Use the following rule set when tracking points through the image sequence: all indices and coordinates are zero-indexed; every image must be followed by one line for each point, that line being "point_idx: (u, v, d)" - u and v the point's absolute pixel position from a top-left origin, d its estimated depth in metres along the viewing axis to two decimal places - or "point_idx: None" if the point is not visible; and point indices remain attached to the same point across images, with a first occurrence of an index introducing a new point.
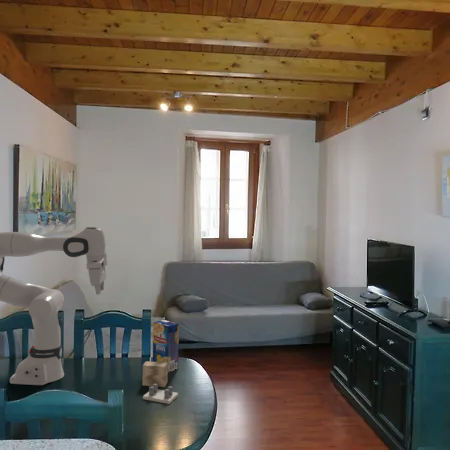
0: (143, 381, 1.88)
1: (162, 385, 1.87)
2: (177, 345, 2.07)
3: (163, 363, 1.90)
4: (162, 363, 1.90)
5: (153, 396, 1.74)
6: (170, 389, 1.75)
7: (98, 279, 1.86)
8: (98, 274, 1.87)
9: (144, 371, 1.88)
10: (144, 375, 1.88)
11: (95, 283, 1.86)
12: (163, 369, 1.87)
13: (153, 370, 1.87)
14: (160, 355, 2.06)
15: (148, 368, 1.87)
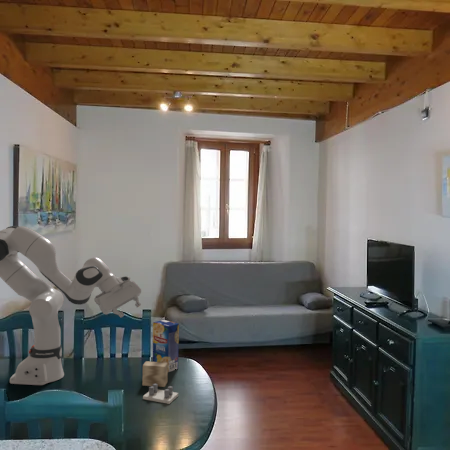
0: (143, 381, 1.88)
1: (162, 385, 1.87)
2: (177, 345, 2.07)
3: (163, 363, 1.90)
4: (162, 363, 1.90)
5: (153, 396, 1.74)
6: (170, 389, 1.75)
7: None
8: None
9: (144, 371, 1.88)
10: (144, 375, 1.88)
11: None
12: (163, 369, 1.87)
13: (153, 370, 1.87)
14: (160, 355, 2.06)
15: (148, 368, 1.87)
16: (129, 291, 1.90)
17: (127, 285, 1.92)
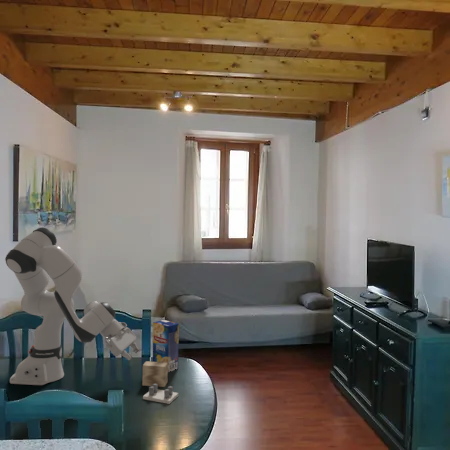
0: (143, 381, 1.88)
1: (162, 385, 1.87)
2: (177, 345, 2.07)
3: (163, 363, 1.90)
4: (162, 363, 1.90)
5: (153, 396, 1.74)
6: (170, 389, 1.75)
7: None
8: None
9: (144, 371, 1.88)
10: (144, 375, 1.88)
11: None
12: (163, 369, 1.87)
13: (153, 370, 1.87)
14: (160, 355, 2.06)
15: (148, 368, 1.87)
16: (129, 336, 1.94)
17: (126, 331, 1.95)
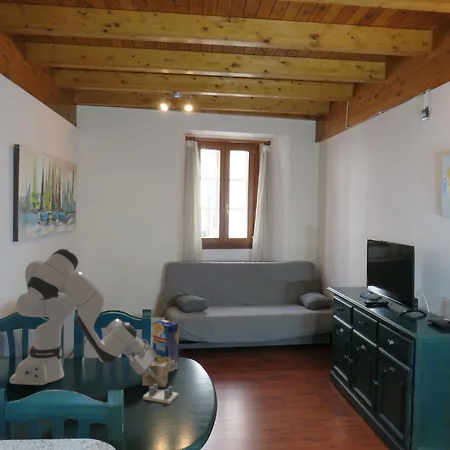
0: (143, 381, 1.88)
1: (162, 385, 1.87)
2: (177, 345, 2.07)
3: (163, 363, 1.90)
4: (162, 363, 1.90)
5: (153, 396, 1.74)
6: (170, 389, 1.75)
7: None
8: None
9: None
10: (144, 375, 1.88)
11: None
12: (163, 369, 1.87)
13: (153, 370, 1.87)
14: (160, 355, 2.06)
15: None
16: (150, 354, 1.94)
17: (147, 348, 1.95)
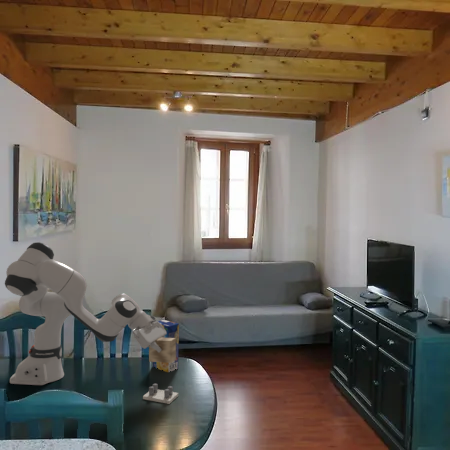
0: (150, 357, 1.79)
1: (169, 361, 1.77)
2: (177, 345, 2.07)
3: (170, 338, 1.81)
4: (170, 338, 1.80)
5: (153, 396, 1.74)
6: (170, 389, 1.75)
7: None
8: None
9: (150, 346, 1.79)
10: (151, 350, 1.79)
11: None
12: (169, 344, 1.77)
13: (159, 345, 1.78)
14: None
15: None
16: (158, 330, 1.86)
17: (155, 325, 1.88)
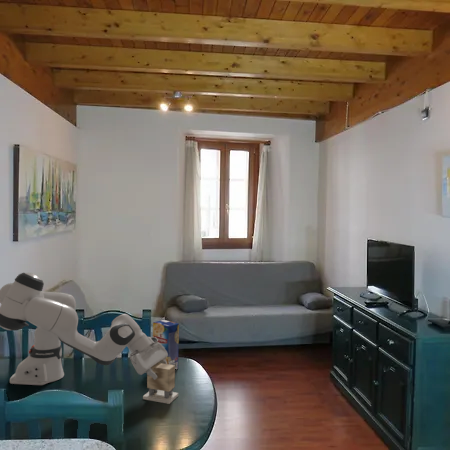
0: (148, 383, 1.75)
1: (166, 389, 1.72)
2: (177, 345, 2.07)
3: (169, 366, 1.76)
4: (169, 366, 1.75)
5: (153, 396, 1.74)
6: None
7: None
8: None
9: None
10: (149, 377, 1.75)
11: None
12: (167, 372, 1.72)
13: (158, 372, 1.73)
14: None
15: (153, 370, 1.74)
16: (158, 353, 1.81)
17: (156, 347, 1.83)
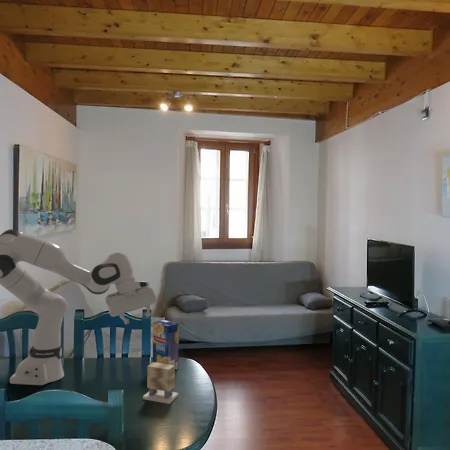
0: (148, 383, 1.75)
1: (166, 389, 1.72)
2: (177, 345, 2.07)
3: (169, 366, 1.76)
4: (169, 366, 1.75)
5: (153, 396, 1.74)
6: None
7: None
8: None
9: (149, 372, 1.75)
10: (149, 377, 1.75)
11: None
12: (167, 372, 1.72)
13: (158, 372, 1.73)
14: (160, 355, 2.06)
15: (153, 370, 1.74)
16: (143, 298, 1.82)
17: (143, 291, 1.83)
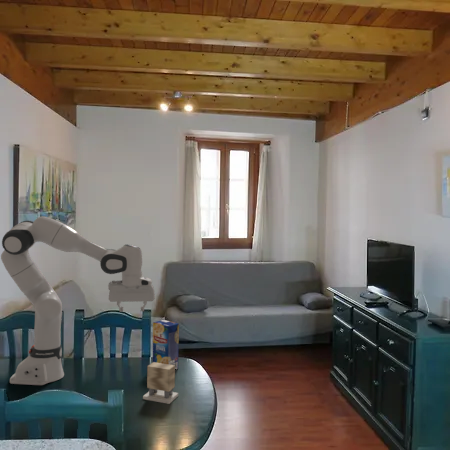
0: (148, 383, 1.75)
1: (166, 389, 1.72)
2: (177, 345, 2.07)
3: (169, 366, 1.76)
4: (169, 366, 1.75)
5: (153, 396, 1.74)
6: None
7: None
8: None
9: (149, 372, 1.75)
10: (149, 377, 1.75)
11: (154, 298, 1.95)
12: (167, 372, 1.72)
13: (158, 372, 1.73)
14: (160, 355, 2.06)
15: (153, 370, 1.74)
16: (141, 295, 1.92)
17: (144, 288, 1.92)
